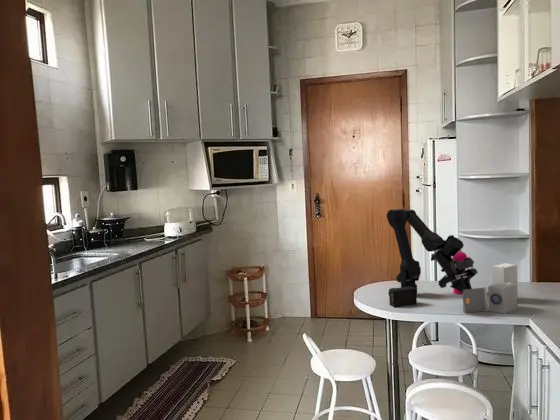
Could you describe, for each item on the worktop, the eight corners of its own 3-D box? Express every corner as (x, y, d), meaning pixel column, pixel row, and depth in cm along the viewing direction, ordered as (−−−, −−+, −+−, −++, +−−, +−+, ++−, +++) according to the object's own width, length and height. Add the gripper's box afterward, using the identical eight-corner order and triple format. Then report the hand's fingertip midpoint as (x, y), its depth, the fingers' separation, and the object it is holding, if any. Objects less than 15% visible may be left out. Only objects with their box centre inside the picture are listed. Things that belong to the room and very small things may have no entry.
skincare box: (506, 297, 194) (505, 262, 193) (519, 300, 189) (518, 264, 188) (492, 300, 190) (491, 265, 189) (505, 303, 185) (503, 267, 184)
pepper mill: (466, 290, 208) (465, 246, 207) (471, 294, 201) (470, 249, 200) (450, 290, 209) (449, 247, 208) (454, 294, 202) (453, 250, 201)
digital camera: (410, 301, 196) (409, 285, 196) (417, 304, 191) (416, 288, 191) (388, 304, 194) (387, 288, 193) (394, 307, 189) (393, 290, 188)
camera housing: (486, 311, 176) (486, 285, 176) (501, 305, 183) (500, 280, 182) (502, 314, 171) (501, 287, 171) (516, 308, 178) (516, 282, 177)
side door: (486, 309, 178) (485, 287, 177) (488, 310, 176) (488, 288, 175) (463, 311, 176) (462, 289, 176) (465, 313, 174) (465, 290, 174)
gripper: (445, 254, 174) (471, 288, 166) (473, 248, 185) (499, 280, 177) (427, 271, 182) (452, 304, 174) (456, 264, 192) (480, 295, 184)
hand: (471, 295), depth 177 cm, fingers closed
